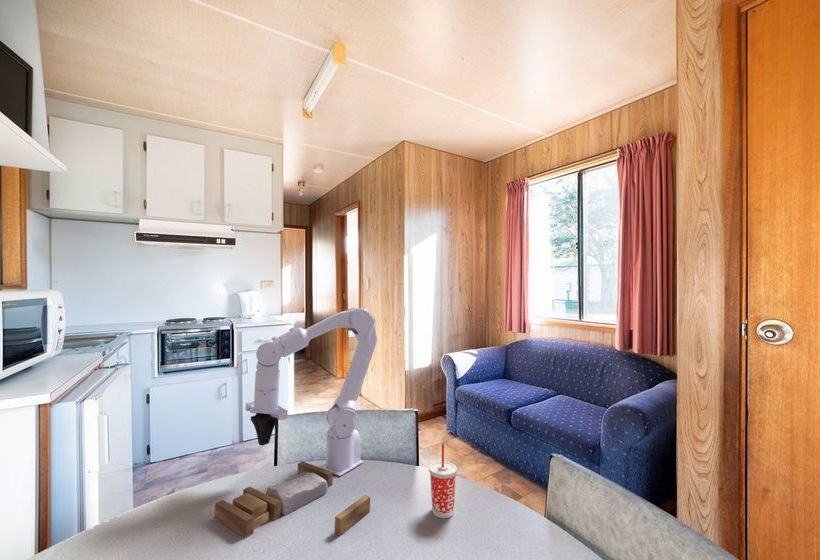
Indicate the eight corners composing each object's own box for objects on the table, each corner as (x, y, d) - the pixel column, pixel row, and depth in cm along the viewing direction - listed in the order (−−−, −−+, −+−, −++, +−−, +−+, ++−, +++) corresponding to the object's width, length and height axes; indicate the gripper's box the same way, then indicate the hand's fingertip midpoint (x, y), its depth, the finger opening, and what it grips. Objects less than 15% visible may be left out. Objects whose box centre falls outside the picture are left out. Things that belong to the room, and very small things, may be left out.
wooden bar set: (302, 473, 87) (302, 461, 87) (380, 503, 73) (380, 489, 73) (214, 518, 67) (215, 502, 68) (298, 570, 54) (299, 550, 54)
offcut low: (245, 510, 71) (245, 500, 71) (268, 522, 67) (268, 512, 67) (228, 519, 68) (229, 508, 68) (252, 532, 64) (252, 521, 64)
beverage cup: (436, 523, 66) (436, 451, 68) (424, 506, 72) (424, 440, 73) (462, 516, 69) (462, 446, 70) (448, 500, 74) (448, 436, 76)
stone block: (259, 511, 73) (285, 518, 68) (259, 487, 74) (284, 492, 69) (305, 490, 83) (331, 495, 77) (304, 469, 84) (329, 472, 78)
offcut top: (247, 501, 71) (247, 492, 71) (266, 511, 67) (267, 502, 67) (232, 508, 68) (232, 499, 68) (252, 520, 64) (252, 510, 65)
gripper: (235, 388, 85) (232, 442, 83) (270, 396, 77) (267, 456, 76) (260, 383, 91) (257, 434, 89) (295, 390, 83) (292, 445, 82)
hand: (264, 443), depth 83 cm, fingers closed
